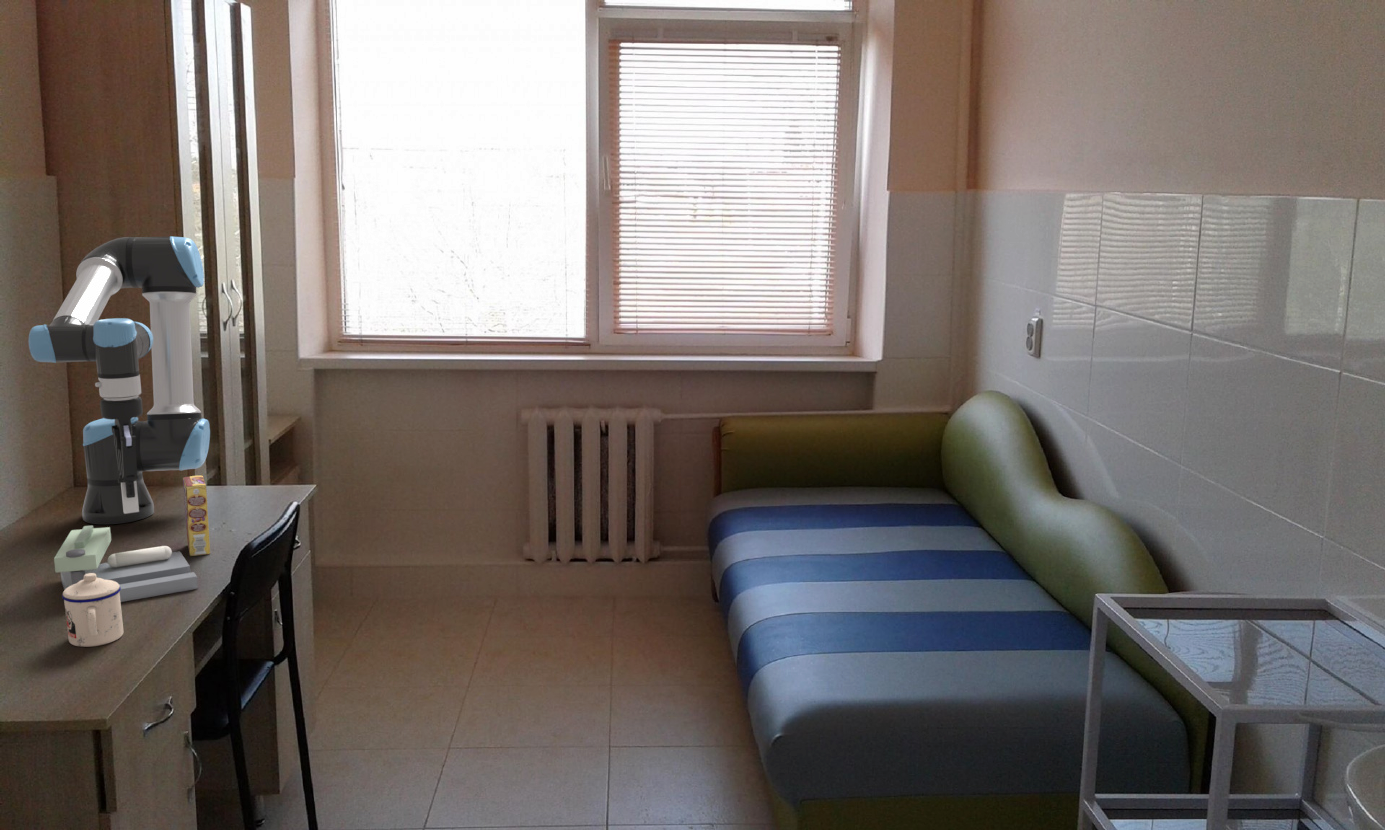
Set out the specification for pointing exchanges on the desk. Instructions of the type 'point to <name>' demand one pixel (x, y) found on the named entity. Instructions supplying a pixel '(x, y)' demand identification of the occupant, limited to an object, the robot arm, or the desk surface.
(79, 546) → the cover
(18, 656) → the desk surface
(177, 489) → the desk surface
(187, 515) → the candy box
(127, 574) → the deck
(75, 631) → the teacup with lid
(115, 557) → the white rounded rod
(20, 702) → the desk surface
